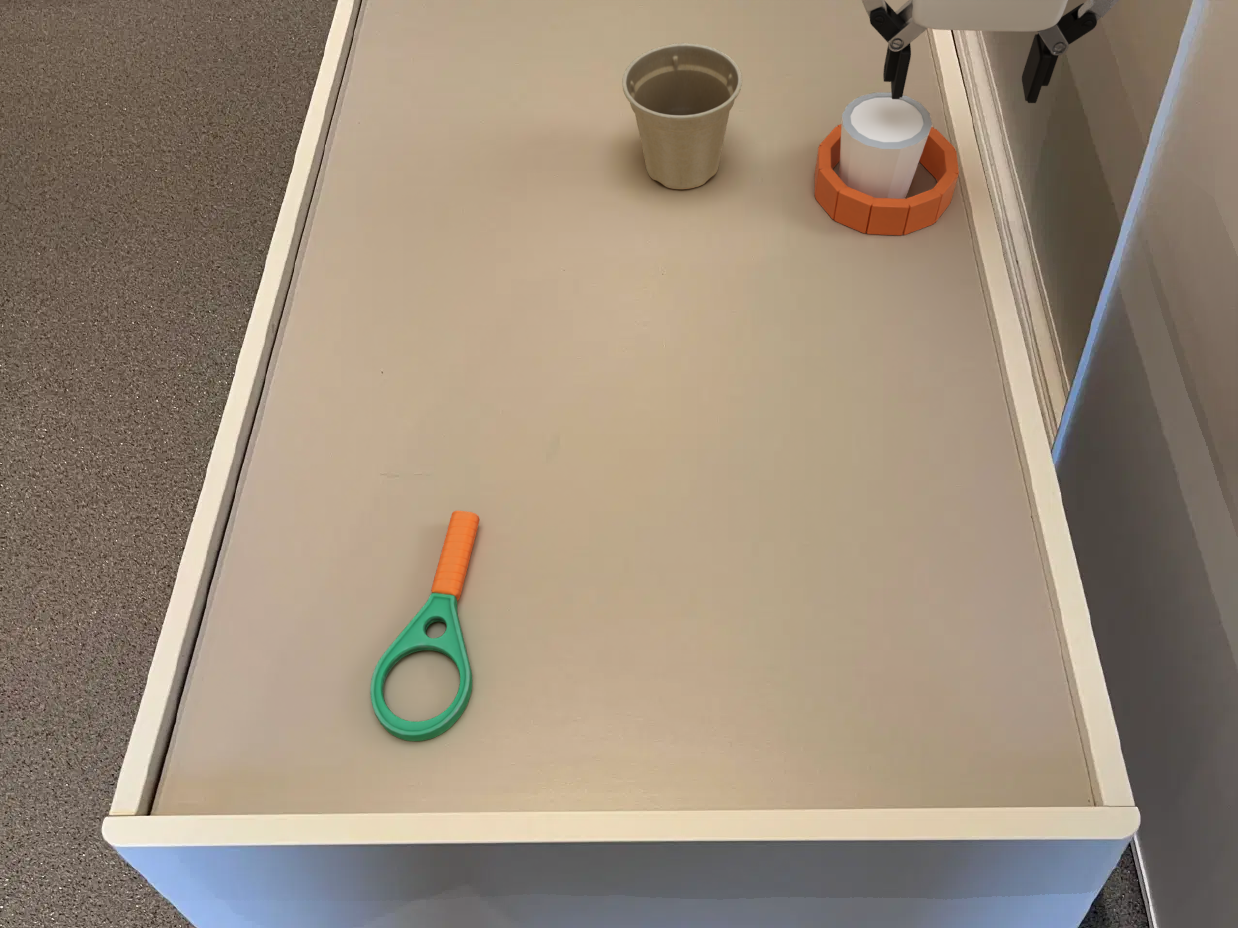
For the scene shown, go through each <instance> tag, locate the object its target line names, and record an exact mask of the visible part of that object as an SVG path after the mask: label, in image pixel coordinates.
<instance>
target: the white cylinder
mask: <svg viewBox="0 0 1238 928" xmlns="http://www.w3.org/2000/svg"><path fill="white" fill-rule="evenodd" d="M841 124H842V125H841V147H840V161H839V171H838V172H839V174H838V176H839V178H840V179H841V180H842V181H843V182H844V183H845V185H846V186H848V187H850V188H852V189H855V190H857V191H860V192H862V193H865V194H867V195H869V196H872V197H874V198H896V199H907V196H908V193H909V191H910V188H911V186H912V182H913V180H914V177H915V174H916V171H917V169H918V166H919V163H920V162H919V160H920V157H921V154H922V152H923V149H924V146H925V143H926V140H927V138H928V135H929V132H930V129H931V127H933V123H932V118H931V114H930V112H929V111H928V109H926V107H925V106H924V105H923V104H922V102H919V101H917V100H916V99H913V98H912V97H910V96H908V95H904V94H903V96H902V97H900V98H899V99H892V93H891V91H889V92H888V91H887V92H883V91H882V92H879V91H878V92H871V93H867V94H863V95H860V96H858V97H856V98H854V99H853V100H852V101H850V102H849V103H848V104H846V107H845V108H844V110H843V112H842V114H841Z"/></svg>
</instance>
